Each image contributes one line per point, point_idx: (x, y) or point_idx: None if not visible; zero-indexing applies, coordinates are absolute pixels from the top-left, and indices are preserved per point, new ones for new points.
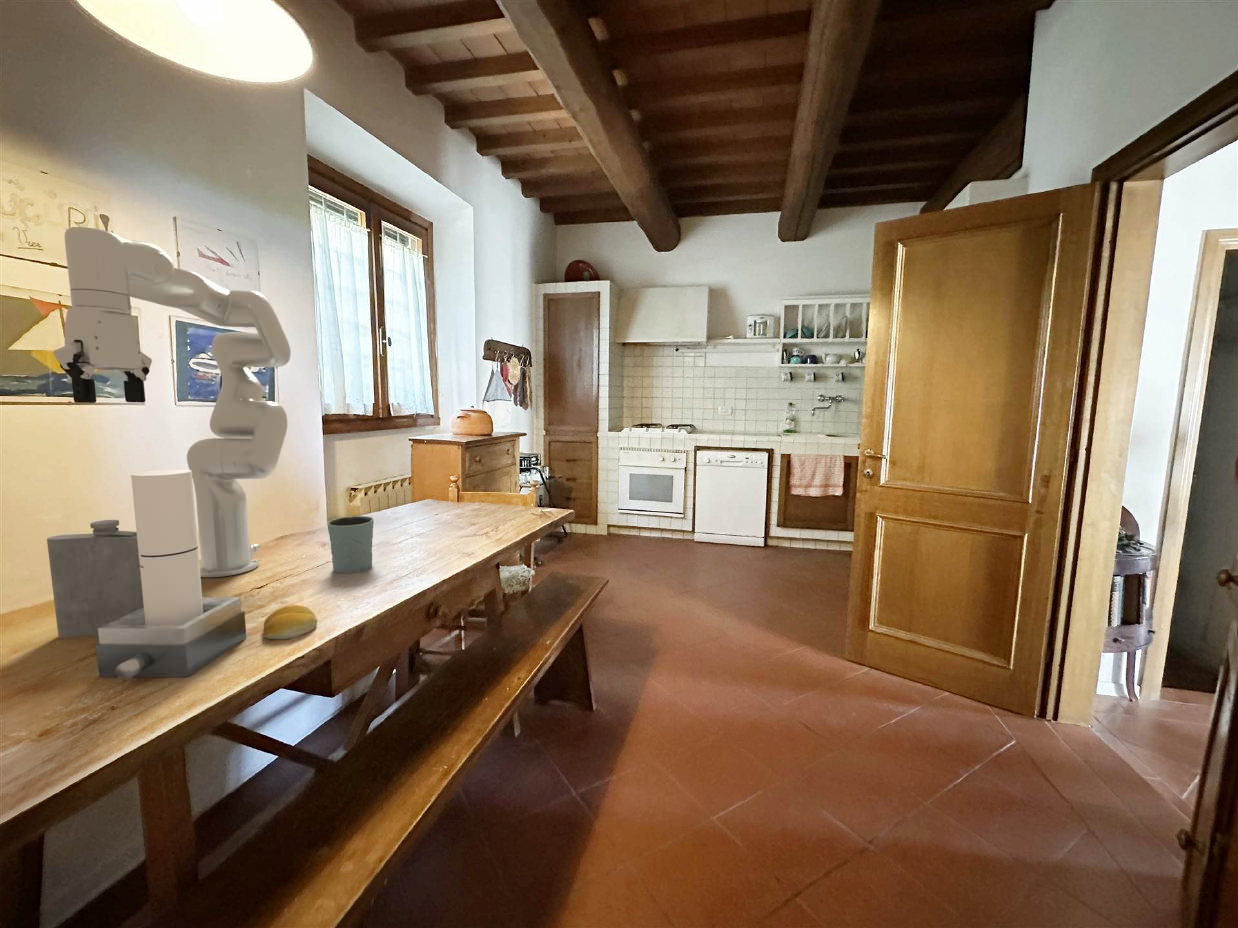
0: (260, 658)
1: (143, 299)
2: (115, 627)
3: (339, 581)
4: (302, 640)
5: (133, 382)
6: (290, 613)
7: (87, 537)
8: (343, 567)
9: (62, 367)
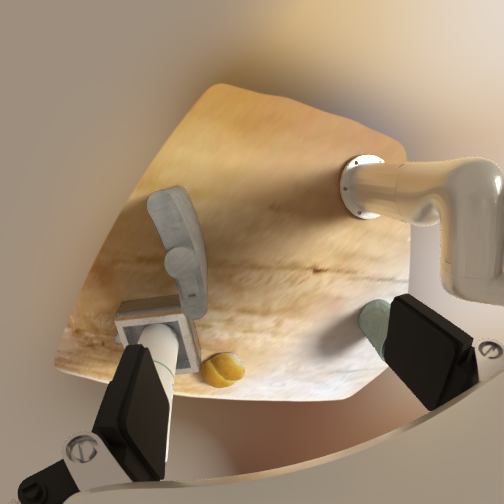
0: (175, 378)
1: None
2: (119, 332)
3: (335, 332)
4: (207, 385)
5: (438, 389)
6: (219, 381)
7: (166, 245)
8: (360, 323)
9: (30, 486)
